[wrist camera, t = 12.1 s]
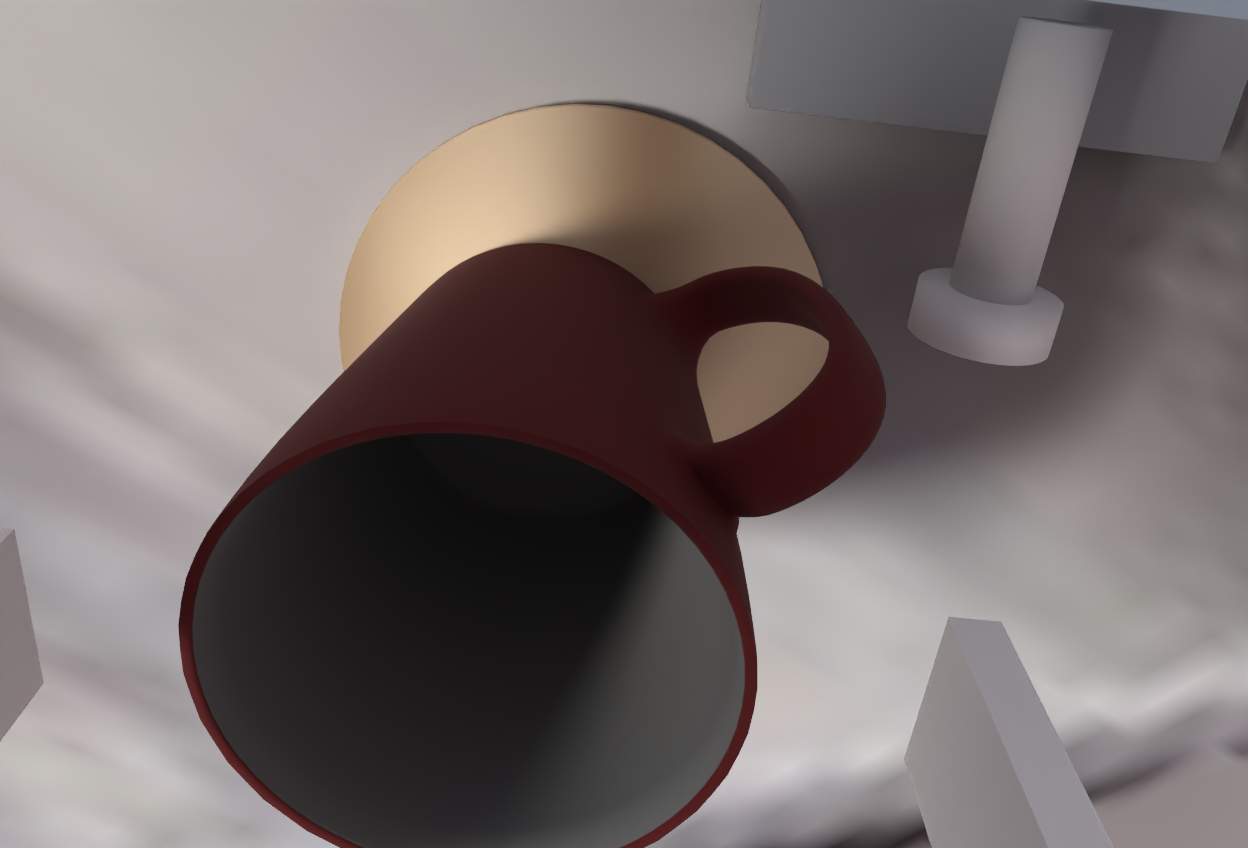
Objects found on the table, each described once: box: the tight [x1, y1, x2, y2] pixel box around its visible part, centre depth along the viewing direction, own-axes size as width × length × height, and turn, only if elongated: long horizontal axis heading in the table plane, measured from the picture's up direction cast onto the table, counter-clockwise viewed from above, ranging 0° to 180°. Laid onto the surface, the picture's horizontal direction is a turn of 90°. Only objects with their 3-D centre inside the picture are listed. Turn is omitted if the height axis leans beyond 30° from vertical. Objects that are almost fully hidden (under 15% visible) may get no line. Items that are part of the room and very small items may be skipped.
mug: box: [179, 243, 886, 848], centre depth 20 cm, size 12×9×11 cm
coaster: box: [339, 104, 829, 443], centre depth 26 cm, size 12×12×1 cm
